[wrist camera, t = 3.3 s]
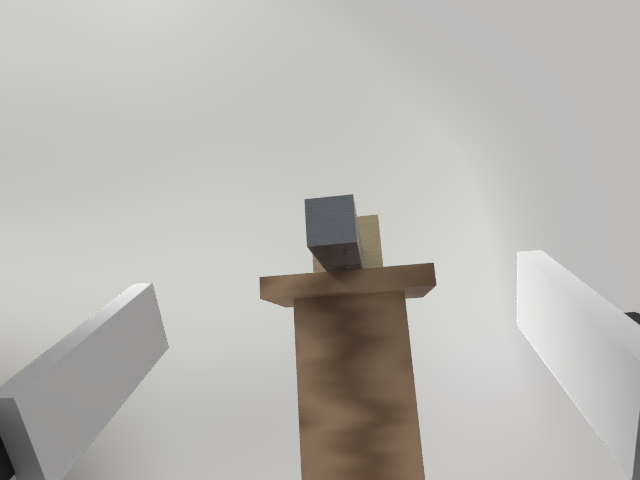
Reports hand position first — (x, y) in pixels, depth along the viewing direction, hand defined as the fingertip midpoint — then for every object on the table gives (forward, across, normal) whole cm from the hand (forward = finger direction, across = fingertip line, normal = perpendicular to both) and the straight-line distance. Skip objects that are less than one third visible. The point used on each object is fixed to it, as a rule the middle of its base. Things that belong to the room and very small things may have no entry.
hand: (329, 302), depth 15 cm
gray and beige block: (+13, 0, -4) cm, 14 cm away
